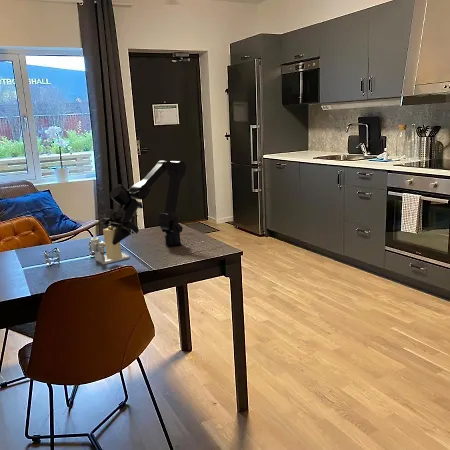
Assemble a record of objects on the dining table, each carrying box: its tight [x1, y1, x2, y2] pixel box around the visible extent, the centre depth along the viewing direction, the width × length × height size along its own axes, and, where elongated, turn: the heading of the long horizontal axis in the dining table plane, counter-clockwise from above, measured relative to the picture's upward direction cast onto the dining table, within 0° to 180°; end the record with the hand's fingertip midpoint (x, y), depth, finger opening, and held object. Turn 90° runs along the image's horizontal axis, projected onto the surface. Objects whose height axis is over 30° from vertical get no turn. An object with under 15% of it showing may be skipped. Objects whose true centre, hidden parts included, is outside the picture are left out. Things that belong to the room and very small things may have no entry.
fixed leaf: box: [93, 243, 130, 266], centre depth 204 cm, size 12×9×8 cm
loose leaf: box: [102, 226, 122, 260], centre depth 195 cm, size 4×5×14 cm
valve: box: [90, 237, 105, 251], centre depth 218 cm, size 7×7×12 cm
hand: (109, 243), depth 194 cm, fingers closed on loose leaf, 5 cm apart
